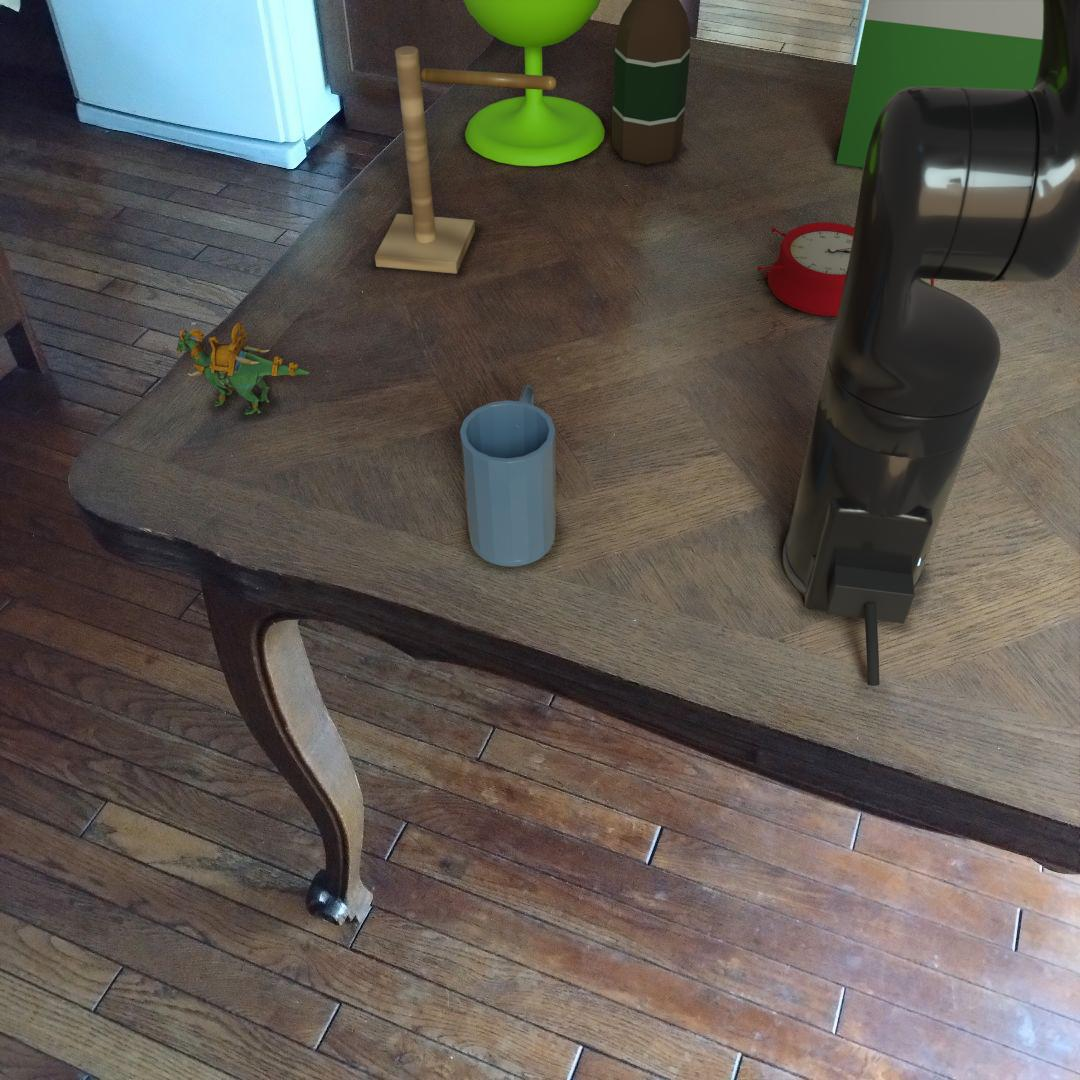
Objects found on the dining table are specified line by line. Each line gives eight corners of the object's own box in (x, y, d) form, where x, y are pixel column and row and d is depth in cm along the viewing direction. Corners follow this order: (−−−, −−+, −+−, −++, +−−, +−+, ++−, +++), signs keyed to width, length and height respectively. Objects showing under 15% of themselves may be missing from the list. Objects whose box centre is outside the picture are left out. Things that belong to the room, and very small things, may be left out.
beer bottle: (611, 132, 121) (619, -106, 103) (679, 133, 120) (700, -106, 103) (611, 165, 115) (621, -80, 98) (683, 165, 115) (705, -81, 98)
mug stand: (549, 282, 100) (548, 79, 86) (376, 266, 102) (347, 66, 88) (563, 238, 105) (563, 40, 91) (398, 224, 107) (374, 29, 94)
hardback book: (1009, 156, 116) (1089, -90, 98) (1006, 188, 111) (1089, -64, 93) (846, 133, 120) (895, -107, 102) (836, 163, 115) (885, -83, 98)
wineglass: (463, 168, 115) (451, -8, 102) (465, 103, 126) (454, -63, 113) (610, 164, 116) (616, -13, 102) (599, 99, 127) (604, -67, 114)
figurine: (200, 381, 90) (175, 299, 84) (327, 408, 87) (311, 325, 81) (180, 403, 88) (153, 320, 82) (310, 431, 85) (292, 348, 79)
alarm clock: (771, 213, 101) (939, 203, 95) (776, 272, 105) (937, 265, 99) (751, 270, 94) (930, 264, 88) (757, 331, 98) (929, 328, 92)
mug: (546, 572, 74) (545, 466, 67) (461, 561, 75) (450, 456, 68) (570, 474, 81) (571, 369, 74) (491, 465, 82) (484, 360, 75)
